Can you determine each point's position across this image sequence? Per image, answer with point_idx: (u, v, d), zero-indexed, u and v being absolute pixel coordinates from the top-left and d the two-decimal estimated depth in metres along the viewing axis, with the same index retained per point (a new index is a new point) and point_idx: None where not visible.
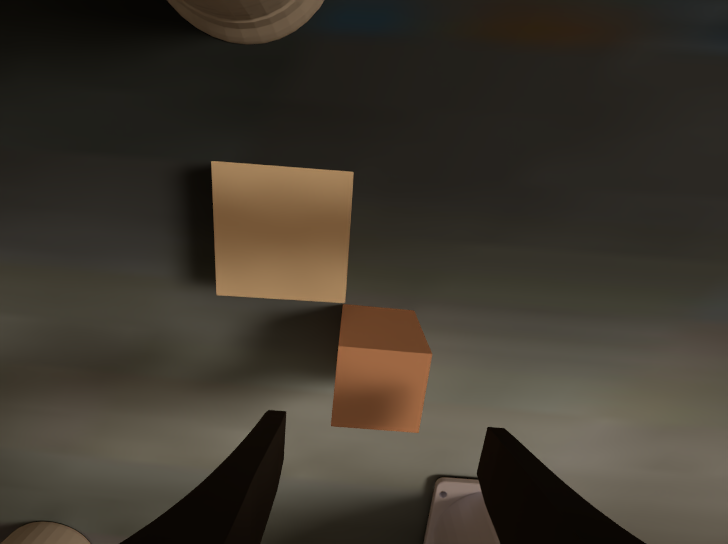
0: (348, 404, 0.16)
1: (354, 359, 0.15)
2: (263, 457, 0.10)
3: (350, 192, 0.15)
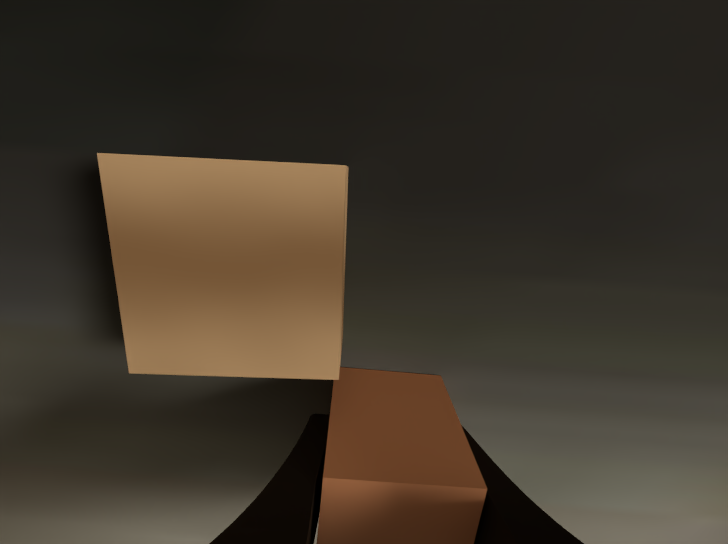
0: None
1: (351, 498, 0.09)
2: (320, 461, 0.10)
3: (342, 201, 0.09)
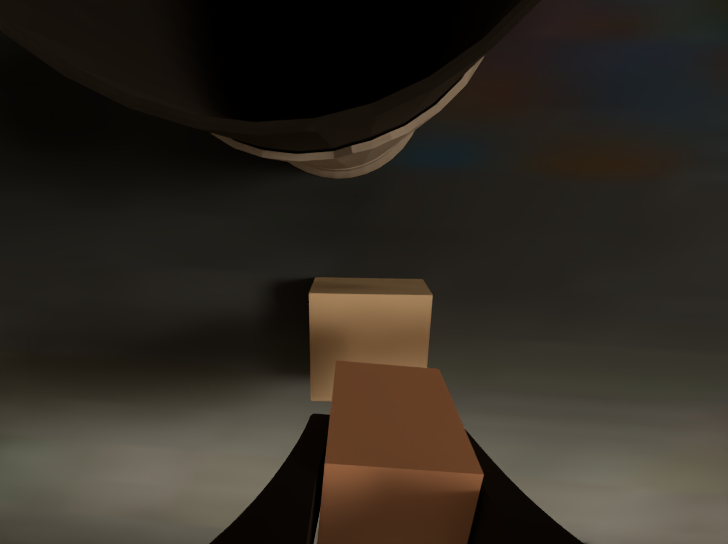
0: None
1: (352, 483, 0.09)
2: (320, 461, 0.10)
3: (429, 311, 0.18)
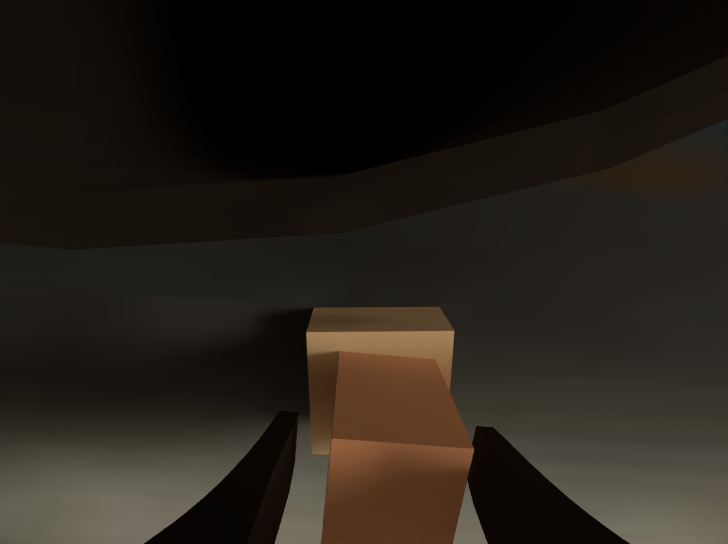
0: (346, 519, 0.11)
1: (356, 457, 0.10)
2: (278, 458, 0.10)
3: (451, 349, 0.15)
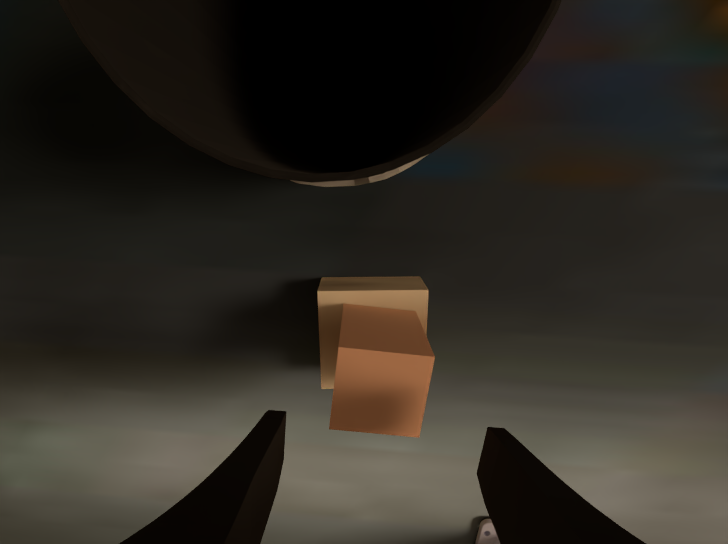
0: (347, 407, 0.15)
1: (354, 361, 0.15)
2: (263, 457, 0.10)
3: (426, 304, 0.20)
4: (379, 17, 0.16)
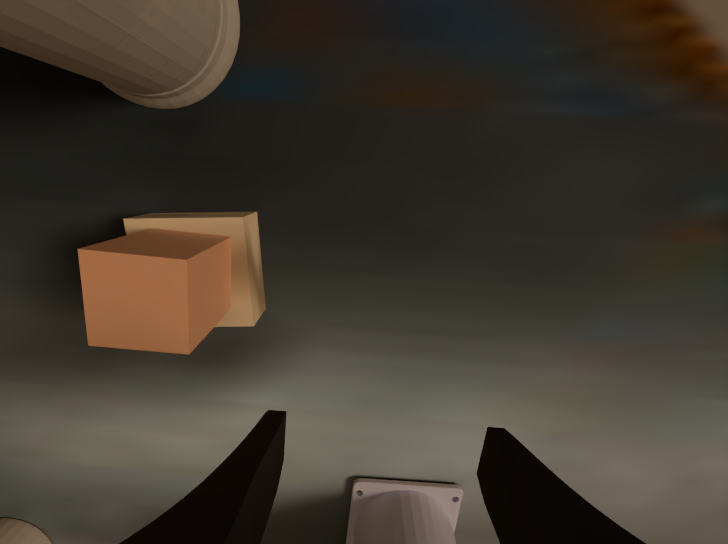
0: (103, 319, 0.14)
1: (99, 265, 0.13)
2: (263, 457, 0.10)
3: (243, 234, 0.18)
4: None
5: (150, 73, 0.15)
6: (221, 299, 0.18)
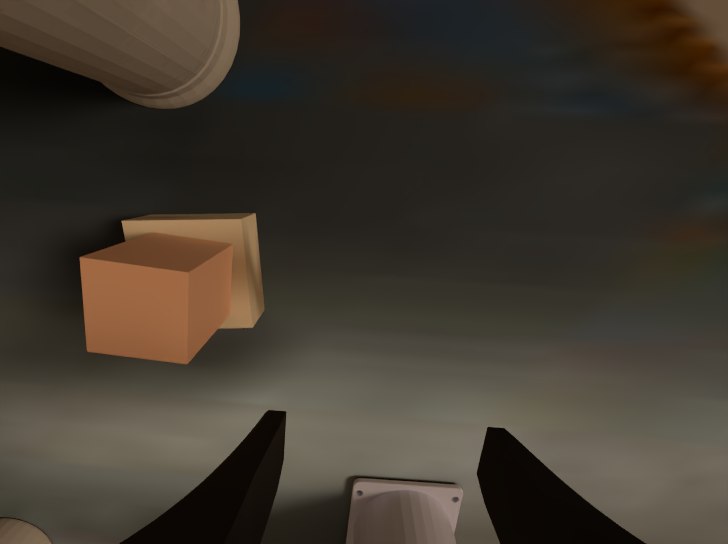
0: (102, 327, 0.14)
1: (100, 274, 0.13)
2: (263, 457, 0.10)
3: (241, 235, 0.18)
4: None
5: (150, 73, 0.15)
6: (220, 306, 0.18)
